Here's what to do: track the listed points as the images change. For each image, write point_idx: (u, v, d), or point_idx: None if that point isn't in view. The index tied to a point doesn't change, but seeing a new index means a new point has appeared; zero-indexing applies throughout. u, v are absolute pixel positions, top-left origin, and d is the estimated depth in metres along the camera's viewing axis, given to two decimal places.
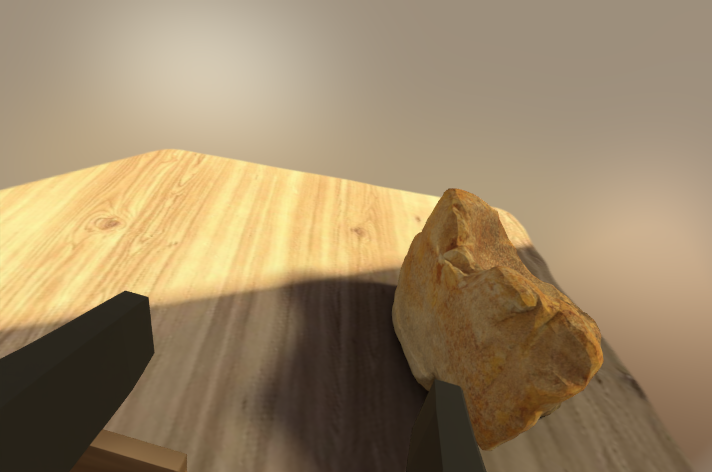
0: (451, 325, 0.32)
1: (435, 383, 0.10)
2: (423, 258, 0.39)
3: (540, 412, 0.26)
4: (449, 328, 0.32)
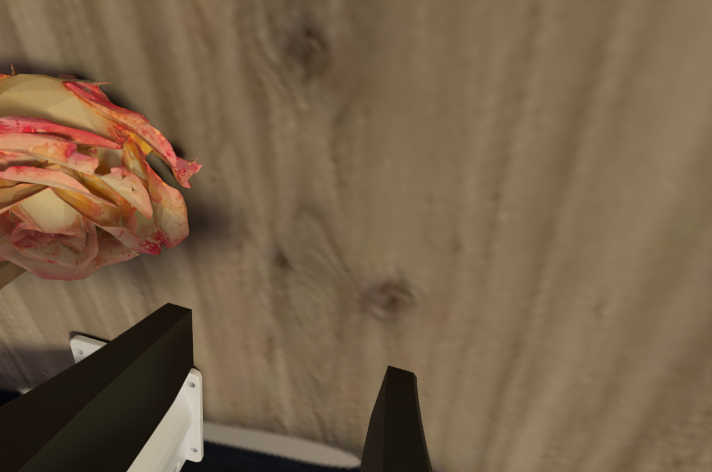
0: None
1: (388, 370, 0.10)
2: None
3: None
4: None
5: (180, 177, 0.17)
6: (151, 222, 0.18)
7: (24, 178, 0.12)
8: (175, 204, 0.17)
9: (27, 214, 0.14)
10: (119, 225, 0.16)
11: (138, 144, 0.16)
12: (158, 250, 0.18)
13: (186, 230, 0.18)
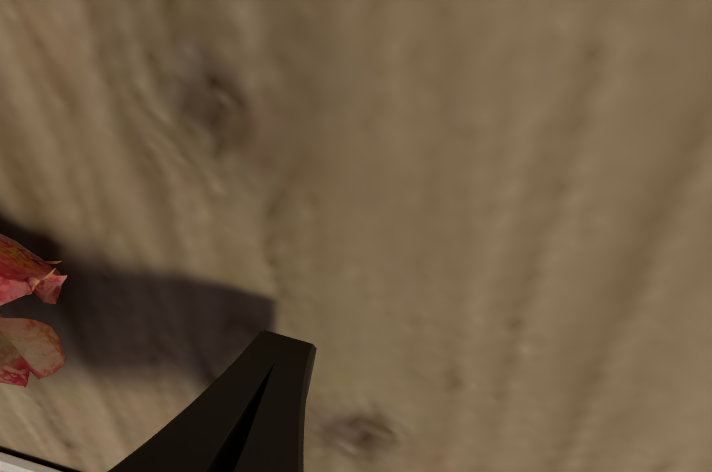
0: None
1: (286, 341, 0.10)
2: None
3: None
4: None
5: (37, 291, 0.11)
6: (10, 344, 0.12)
7: None
8: (26, 335, 0.11)
9: None
10: None
11: None
12: (23, 383, 0.13)
13: (58, 358, 0.12)
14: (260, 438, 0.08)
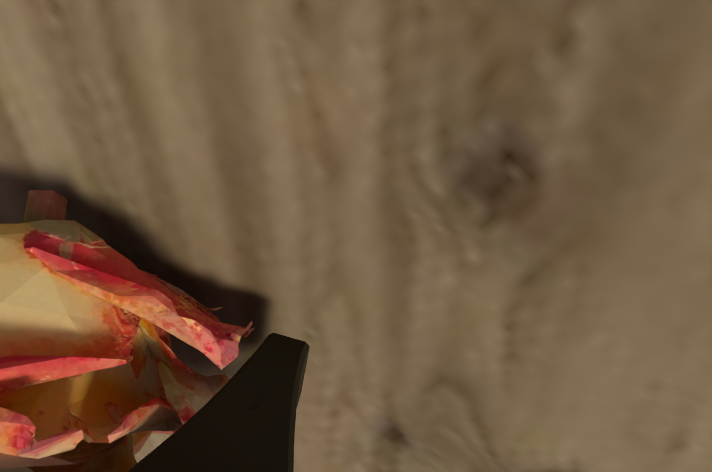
0: None
1: (279, 339, 0.10)
2: None
3: None
4: None
5: None
6: (176, 394, 0.12)
7: None
8: (214, 390, 0.11)
9: None
10: (128, 441, 0.10)
11: None
12: None
13: None
14: (250, 435, 0.08)
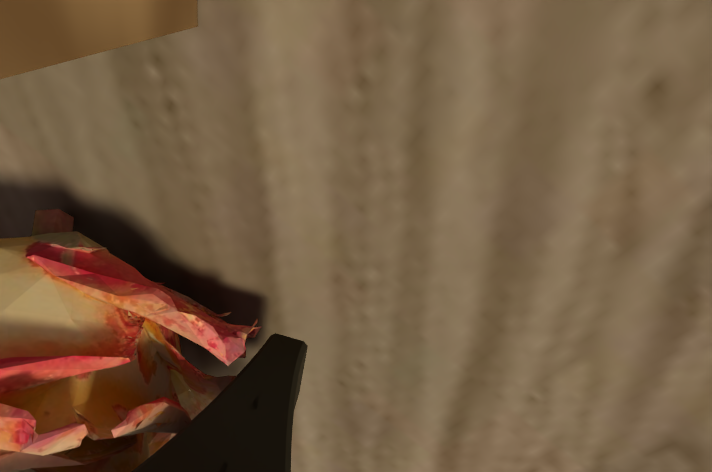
0: None
1: (277, 338, 0.10)
2: None
3: None
4: None
5: None
6: (191, 404, 0.12)
7: None
8: None
9: None
10: (143, 449, 0.10)
11: None
12: None
13: None
14: (248, 434, 0.08)
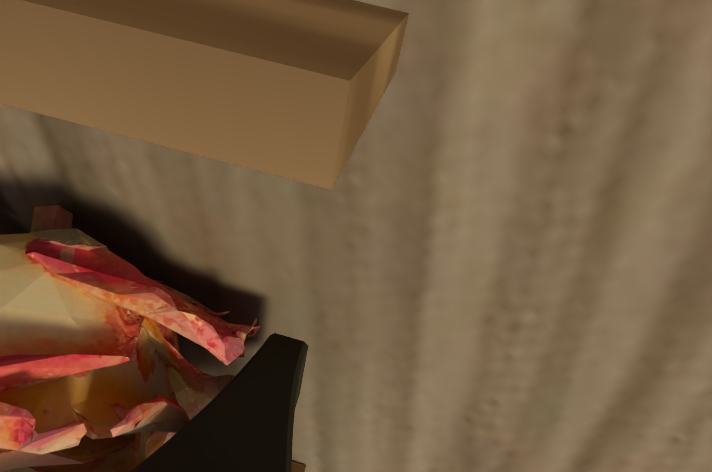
0: None
1: (278, 338, 0.10)
2: None
3: None
4: None
5: None
6: (189, 402, 0.12)
7: None
8: None
9: None
10: (141, 448, 0.10)
11: None
12: None
13: None
14: (249, 435, 0.08)
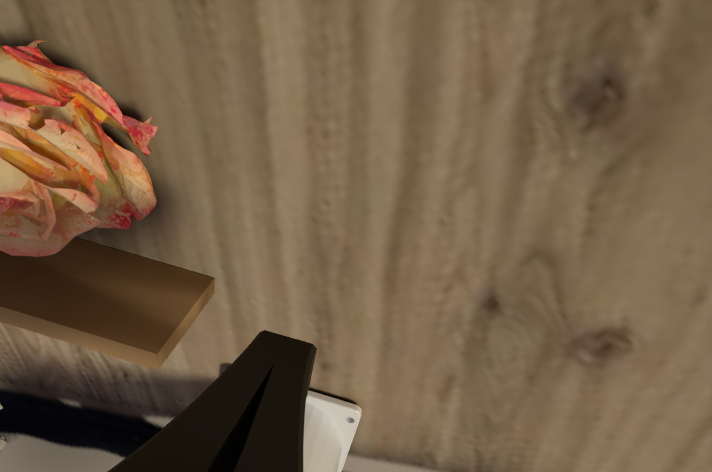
0: None
1: (286, 341, 0.10)
2: None
3: None
4: None
5: (138, 142, 0.17)
6: (118, 194, 0.18)
7: None
8: (134, 170, 0.16)
9: None
10: None
11: (90, 109, 0.16)
12: (128, 223, 0.18)
13: (152, 199, 0.18)
14: (260, 438, 0.08)
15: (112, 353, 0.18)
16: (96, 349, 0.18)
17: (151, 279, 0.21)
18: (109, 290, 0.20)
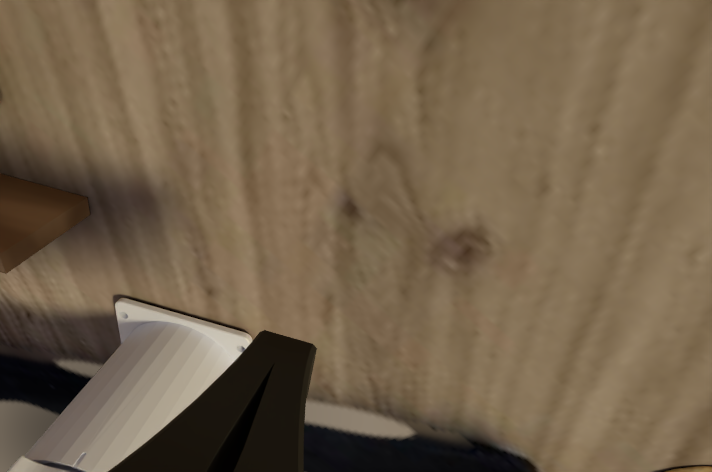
0: None
1: (286, 341, 0.10)
2: None
3: None
4: None
5: None
6: None
7: None
8: None
9: None
10: None
11: None
12: None
13: None
14: (260, 438, 0.08)
15: None
16: None
17: (18, 195, 0.21)
18: None
